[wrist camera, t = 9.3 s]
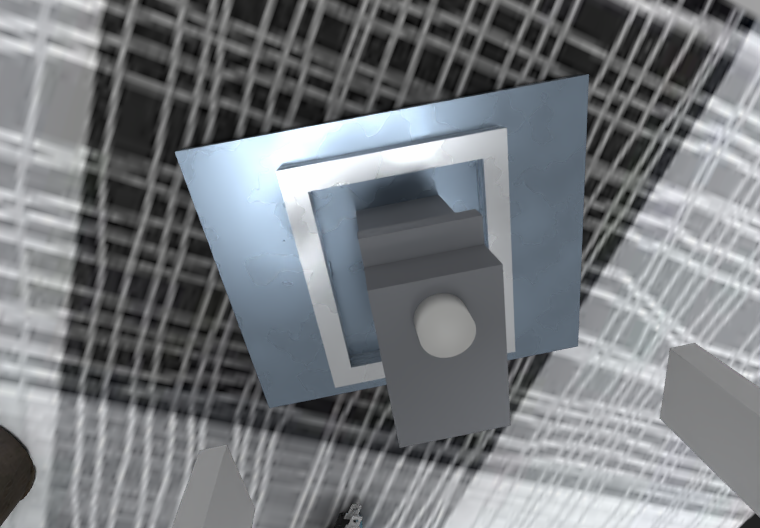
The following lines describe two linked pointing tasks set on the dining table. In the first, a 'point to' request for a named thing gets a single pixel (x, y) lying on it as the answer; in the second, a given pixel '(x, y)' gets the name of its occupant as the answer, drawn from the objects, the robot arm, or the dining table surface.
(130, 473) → the dining table surface
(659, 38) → the dining table surface
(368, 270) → the servo
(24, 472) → the pillar candle
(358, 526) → the push button
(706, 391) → the robot arm
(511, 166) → the plate
